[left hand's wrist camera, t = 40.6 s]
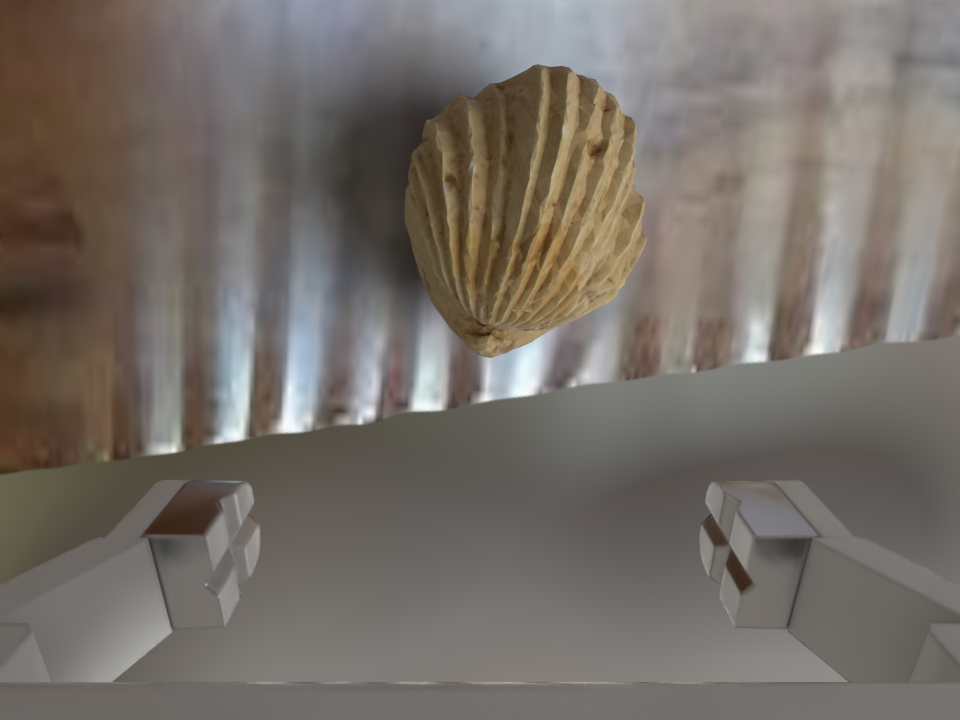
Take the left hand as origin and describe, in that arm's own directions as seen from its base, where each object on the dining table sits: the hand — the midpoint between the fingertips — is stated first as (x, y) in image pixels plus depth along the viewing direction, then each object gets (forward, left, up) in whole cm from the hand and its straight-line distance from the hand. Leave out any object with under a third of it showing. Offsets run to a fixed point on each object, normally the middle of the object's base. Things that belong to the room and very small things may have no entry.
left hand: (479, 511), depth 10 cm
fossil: (-3, 0, -34) cm, 34 cm away
